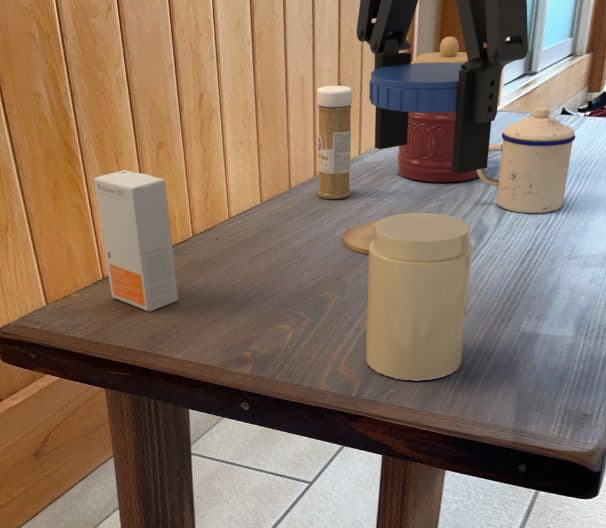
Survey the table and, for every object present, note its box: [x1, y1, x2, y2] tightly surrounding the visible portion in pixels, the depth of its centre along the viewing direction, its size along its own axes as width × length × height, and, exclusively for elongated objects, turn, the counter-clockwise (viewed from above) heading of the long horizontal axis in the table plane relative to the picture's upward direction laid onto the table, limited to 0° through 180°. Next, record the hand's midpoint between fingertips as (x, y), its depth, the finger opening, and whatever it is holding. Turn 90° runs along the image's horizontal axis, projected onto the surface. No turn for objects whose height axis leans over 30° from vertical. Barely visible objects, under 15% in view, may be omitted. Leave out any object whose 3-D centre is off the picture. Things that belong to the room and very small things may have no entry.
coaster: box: [342, 220, 379, 256], centre depth 102 cm, size 12×12×1 cm
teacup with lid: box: [477, 106, 576, 214], centre depth 110 cm, size 12×9×12 cm
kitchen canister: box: [396, 36, 484, 183], centre depth 122 cm, size 13×13×18 cm
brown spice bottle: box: [316, 85, 353, 200], centre depth 114 cm, size 5×5×14 cm
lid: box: [368, 62, 464, 113], centre depth 63 cm, size 9×9×2 cm
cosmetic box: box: [93, 169, 179, 313], centre depth 84 cm, size 6×4×12 cm
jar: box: [365, 212, 474, 379], centre depth 72 cm, size 8×8×12 cm
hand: (428, 157), depth 66 cm, fingers closed on lid, 9 cm apart
